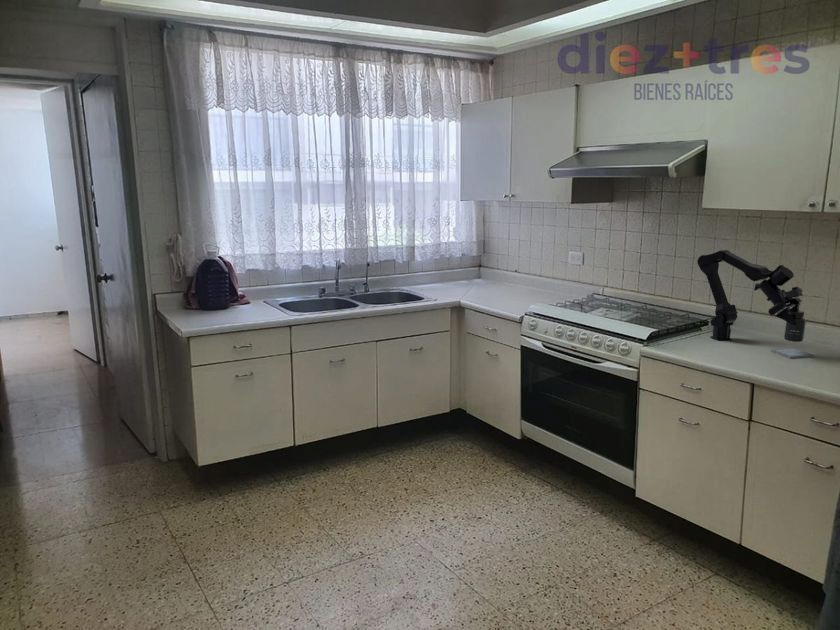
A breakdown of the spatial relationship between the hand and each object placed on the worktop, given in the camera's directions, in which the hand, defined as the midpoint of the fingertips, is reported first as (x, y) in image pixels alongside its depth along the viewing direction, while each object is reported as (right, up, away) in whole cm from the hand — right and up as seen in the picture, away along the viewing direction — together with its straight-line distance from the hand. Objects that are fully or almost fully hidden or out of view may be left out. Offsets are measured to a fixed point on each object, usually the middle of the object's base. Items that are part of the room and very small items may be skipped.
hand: (799, 323), depth 250 cm
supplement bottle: (-1, -7, +3) cm, 8 cm away
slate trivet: (-1, -13, +4) cm, 13 cm away
